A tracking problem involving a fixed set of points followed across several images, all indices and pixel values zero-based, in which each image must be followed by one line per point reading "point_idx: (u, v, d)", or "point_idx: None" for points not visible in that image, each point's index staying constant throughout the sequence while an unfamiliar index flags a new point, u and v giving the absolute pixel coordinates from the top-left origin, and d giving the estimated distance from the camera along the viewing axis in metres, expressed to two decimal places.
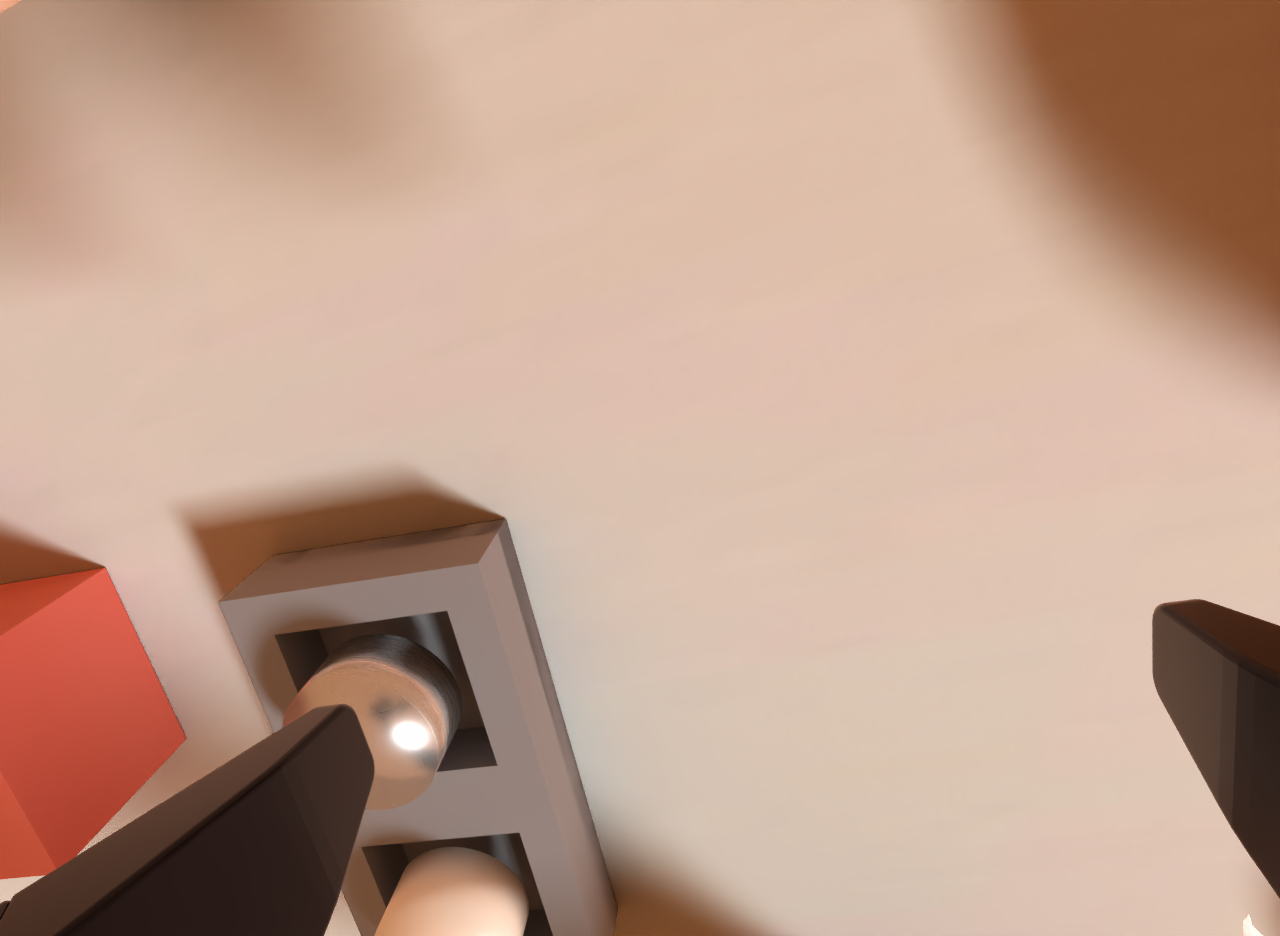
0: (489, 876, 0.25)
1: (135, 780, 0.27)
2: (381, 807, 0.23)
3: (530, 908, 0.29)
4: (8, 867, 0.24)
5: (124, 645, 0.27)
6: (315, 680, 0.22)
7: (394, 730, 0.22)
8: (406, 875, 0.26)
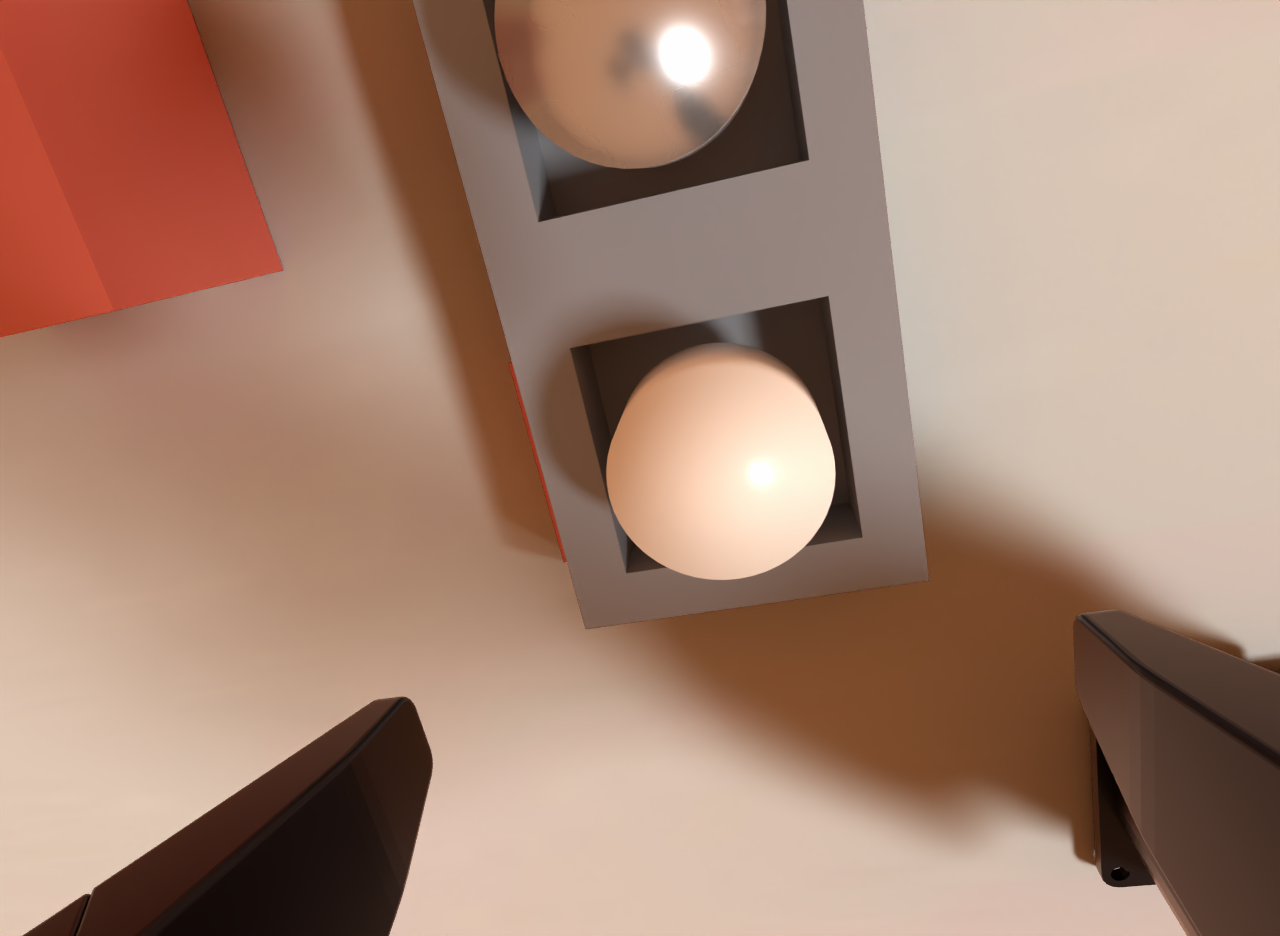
0: (780, 368, 0.16)
1: (218, 269, 0.18)
2: (650, 166, 0.14)
3: None
4: (31, 306, 0.15)
5: (199, 78, 0.18)
6: None
7: None
8: (647, 378, 0.17)
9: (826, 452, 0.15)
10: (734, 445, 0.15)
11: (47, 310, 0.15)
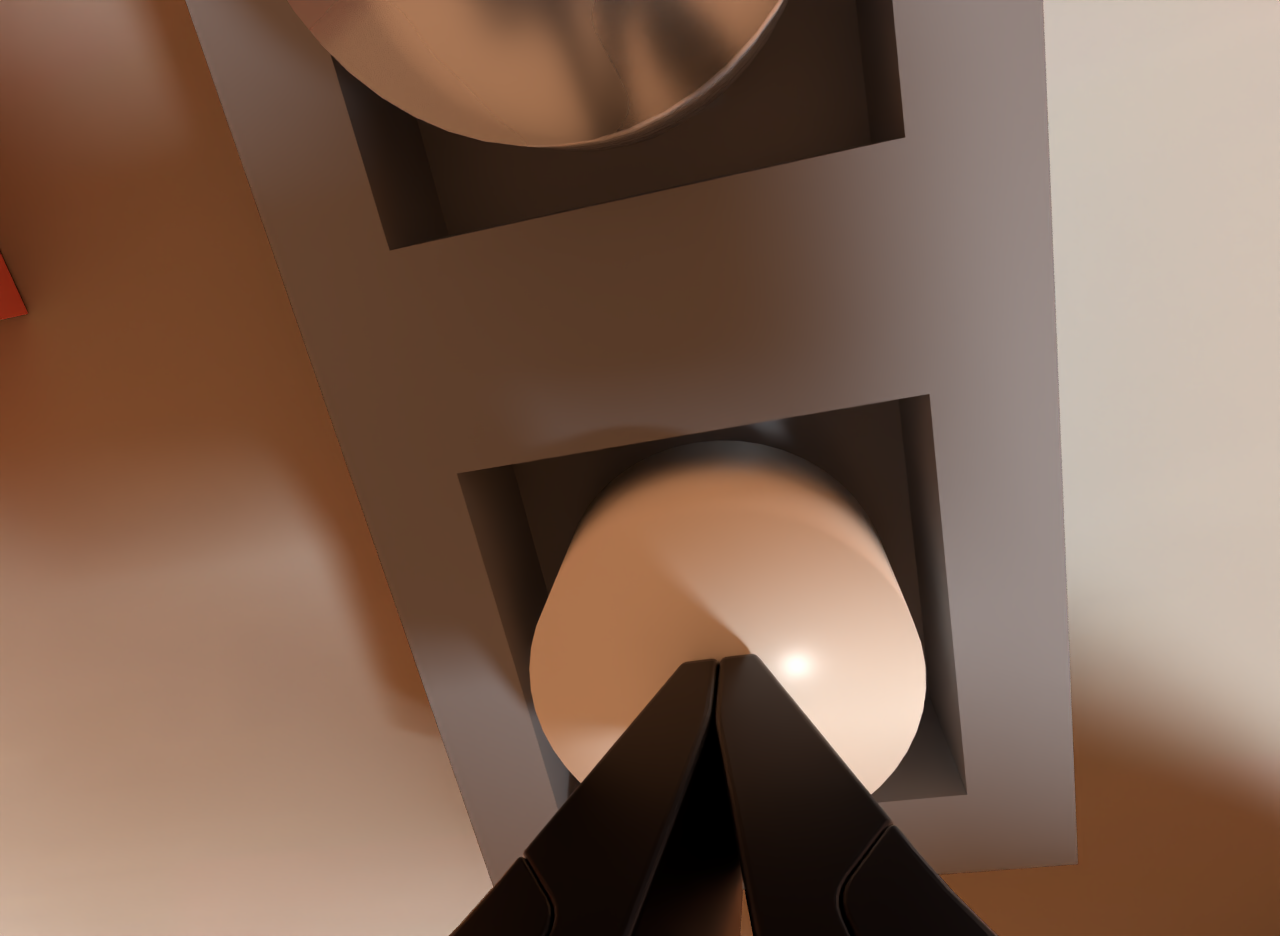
0: (827, 490, 0.10)
1: None
2: (581, 142, 0.06)
3: None
4: None
5: None
6: None
7: None
8: (604, 501, 0.10)
9: (912, 653, 0.09)
10: (751, 637, 0.09)
11: None
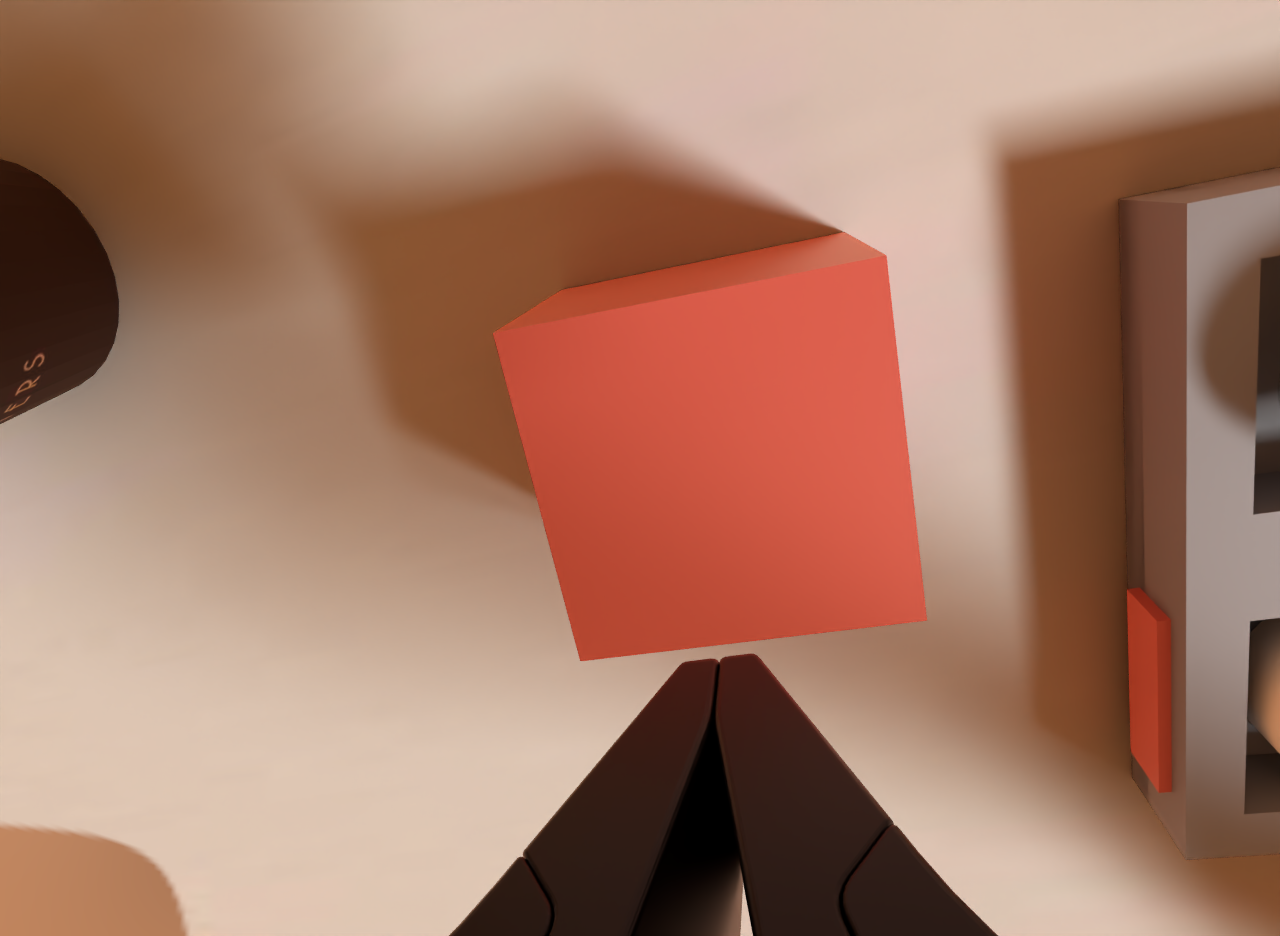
0: None
1: None
2: None
3: None
4: (842, 612, 0.16)
5: None
6: None
7: None
8: None
9: None
10: None
11: (858, 616, 0.16)
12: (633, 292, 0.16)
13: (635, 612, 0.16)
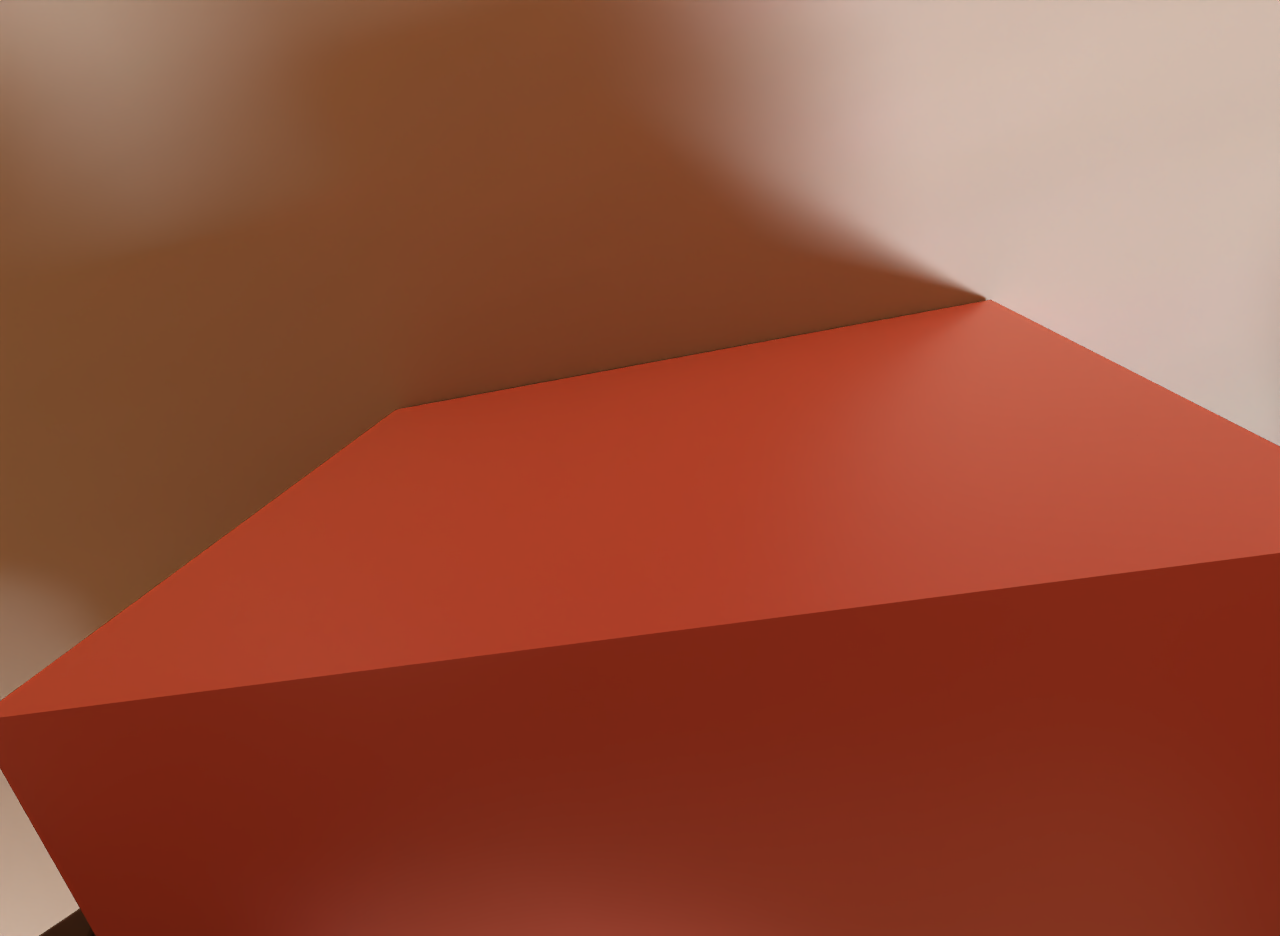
0: None
1: None
2: None
3: None
4: None
5: None
6: None
7: None
8: None
9: None
10: None
11: None
12: (492, 505, 0.06)
13: None
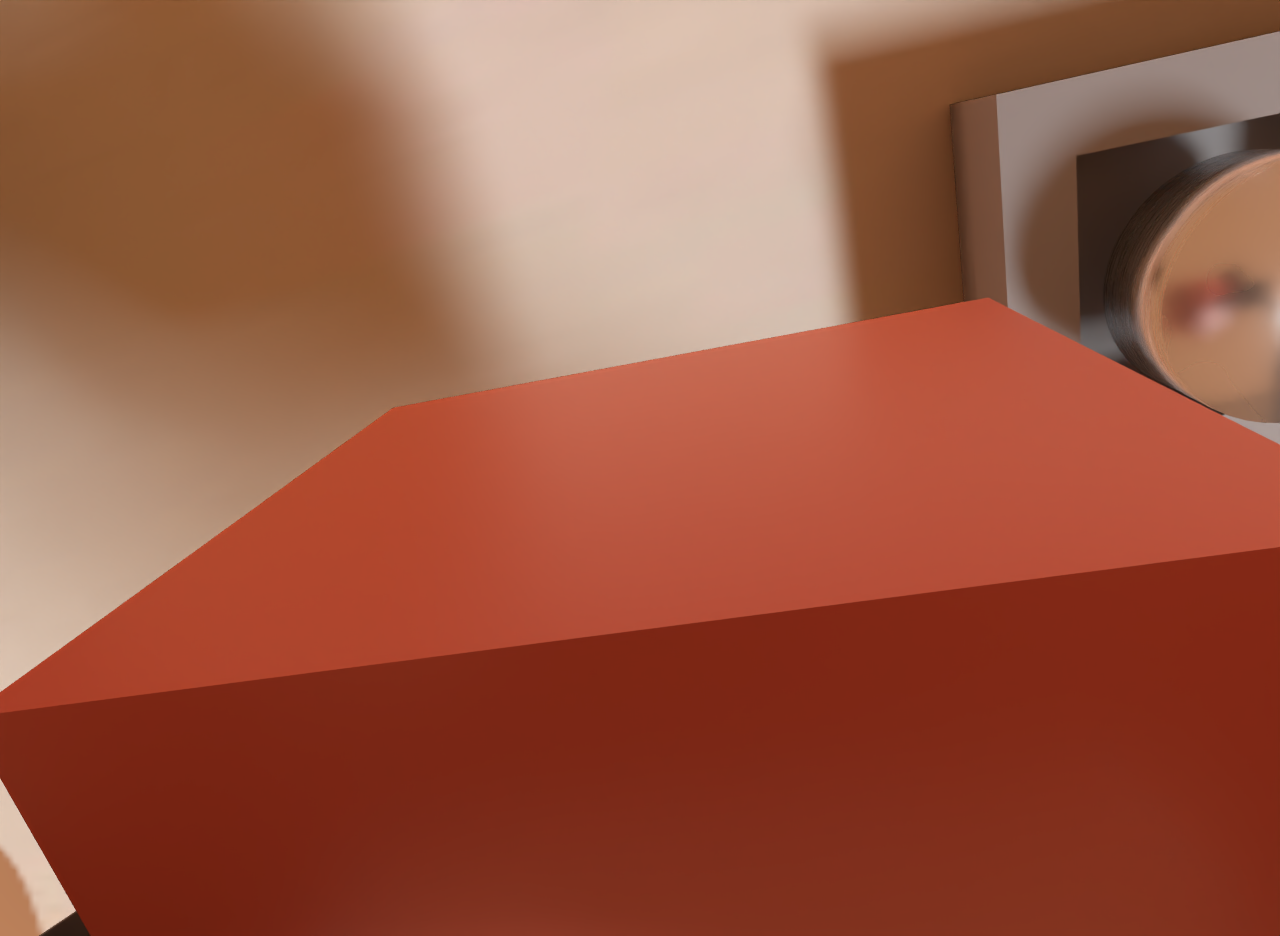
0: None
1: None
2: None
3: None
4: None
5: None
6: (1260, 167, 0.13)
7: None
8: None
9: None
10: None
11: None
12: (487, 502, 0.06)
13: None
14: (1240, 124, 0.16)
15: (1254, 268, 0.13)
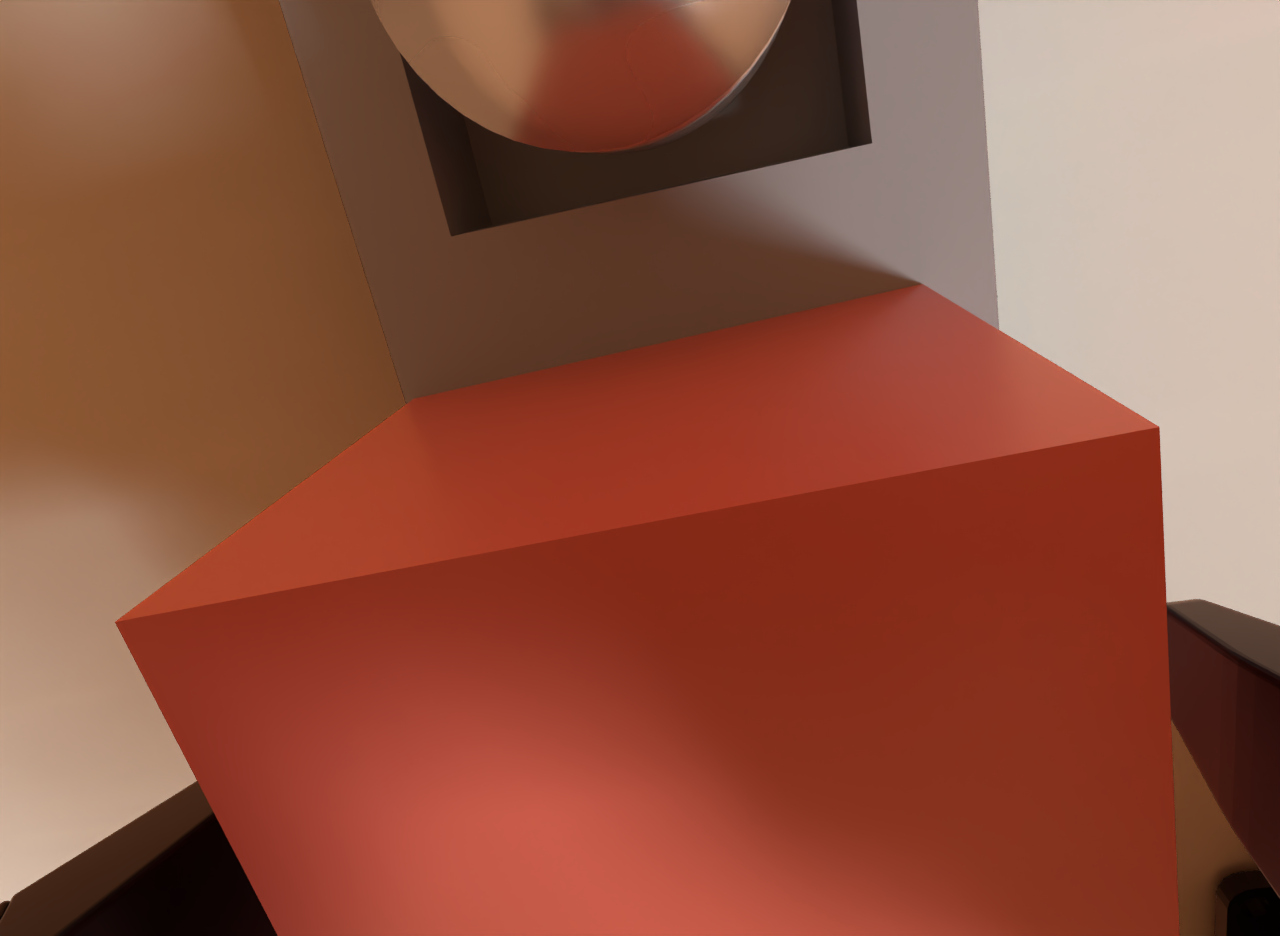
0: None
1: None
2: (616, 148, 0.08)
3: None
4: None
5: None
6: None
7: None
8: None
9: None
10: None
11: None
12: (498, 461, 0.07)
13: None
14: None
15: None
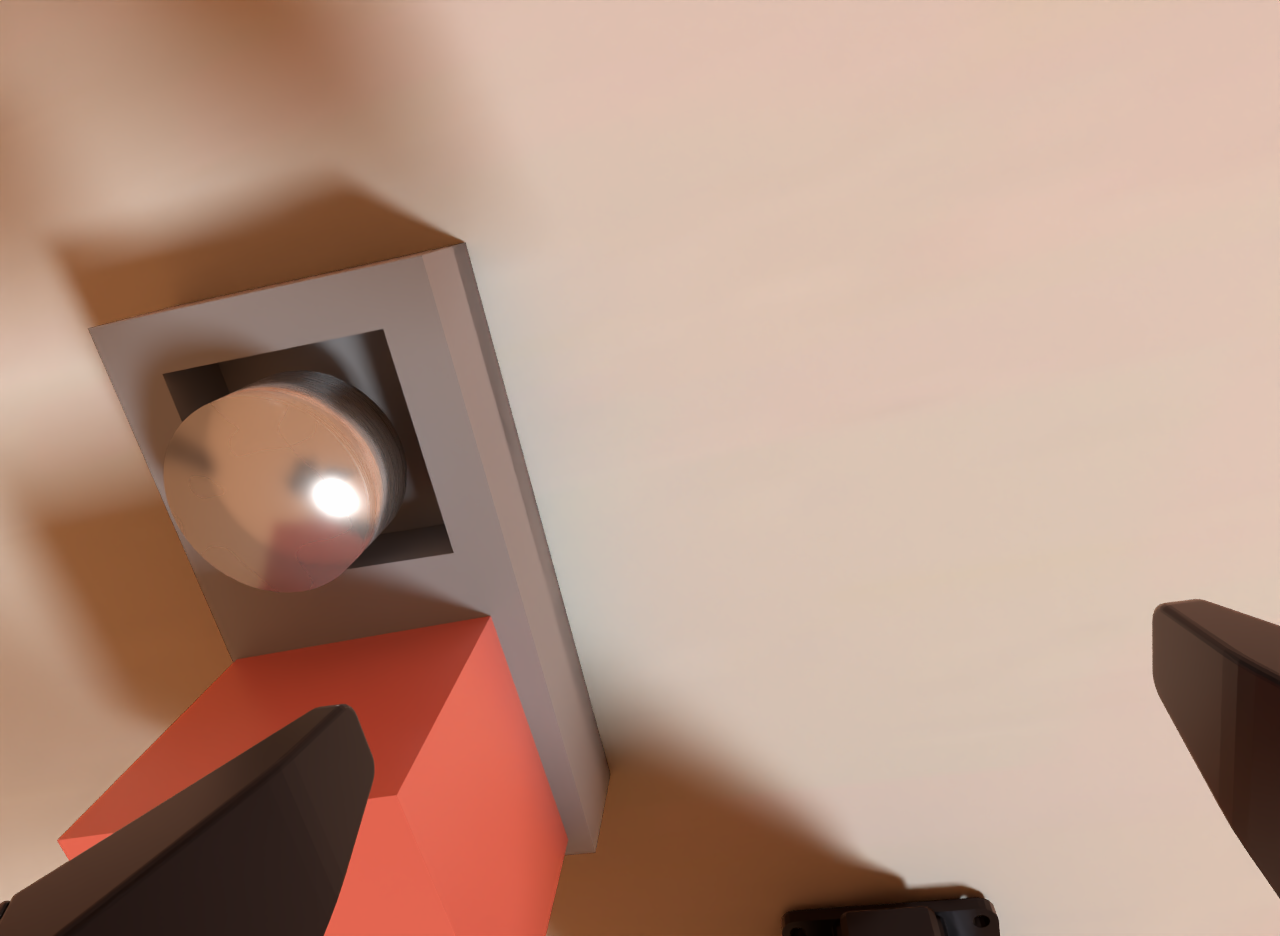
0: None
1: (545, 910, 0.19)
2: (298, 590, 0.18)
3: None
4: None
5: (515, 721, 0.20)
6: None
7: (310, 472, 0.17)
8: None
9: None
10: None
11: None
12: (230, 750, 0.17)
13: None
14: (360, 334, 0.20)
15: (219, 479, 0.17)
